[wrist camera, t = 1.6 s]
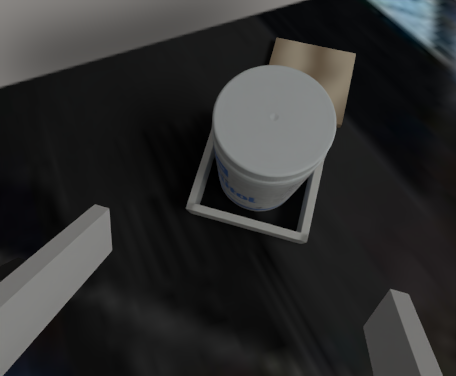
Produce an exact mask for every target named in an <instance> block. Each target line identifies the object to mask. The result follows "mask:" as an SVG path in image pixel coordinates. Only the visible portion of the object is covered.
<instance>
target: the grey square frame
mask: <svg viewBox="0 0 456 376" xmlns="http://www.w3.org/2000/svg"><path fill="white" fill-rule="evenodd" d="M214 157H215V151H214V146H213V139H212V129H211V132H210V135H209V138H208V141H207V144H206V147H205V151H204V154H203V157H202V160H201V163H200V166H199V169H198V172H197V175H196V178H195V181H194V184H193V187H192V190H191V193H190V197H189V200H188V203H187V206H186V209H187V210H188V211H189V212H190V213H192V214H196V215H199V216H203V217H206V218H210V219H214V220H217V221H221V222H224V223H228V224H231V225H235V226H239V227H242V228H246V229H249V230H253V231H256V232H260V233H264V234H267V235H271V236H274V237H278V238H281V239H285V240H289V241H292V242H296V243H299V244H302V243H306V242H307V239H308V234H309V230H310V225H311V220H312V215H313V211H314V206H315V201H316V196H317V192H318V187H319V182H320V177H321V173H322V168H323V163H324V159H323V160H322V162H321V163H320V164H319V165H318V167H317V168H316V169H315V170H314V171H313V172H312V173H311V174H310V176H309V177H308V181H307V185H306V190H305V194H304V199H303V203H302V208H301V212H300V217H299V221H298V226H297V230H296V231H292V230H289V229H285V228H282V227H278V226H274V225H271V224H267V223H263V222H260V221H256V220H253V219H249V218H245V217H242V216H238V215H234V214H231V213H227V212H224V211H220V210H216V209H213V208H209V207H205V206H202V205H200V202H201V198H202V195H203V192H204V189H205V186H206V183H207V179H208V176H209V173H210V170H211V167H212V163H213V160H214Z"/></svg>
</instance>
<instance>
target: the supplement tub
mask: <svg viewBox="0 0 456 376" xmlns="http://www.w3.org/2000/svg"><path fill="white" fill-rule="evenodd" d="M336 124H337V123H336V113H335V109H334V105H333V103H332V101H331V99H330V97H329V95H328V94H327V92H326V91H325V89H324V88H323V87H322V86H321V85H320V84H319V83H318V82H317V81H316V80H315V79H313V78H312V77H311V76H309V75H307V74H306V73H304V72H302V71H300V70H297V69H294V68H291V67H287V66H280V65H265V66H259V67H254V68H251V69H249V70H246V71H244V72H242V73H240V74H239V75H237V76H236V77H234V78H233V79H232V80H231V81H229V82H228V83H227V84H226V86H225V87H224V88H223V89H222V91H221V92H220V94H219V96H218V98H217V100H216V103H215V106H214V110H213V117H212V139H213V146H214V151H215V157H216V162H217V168H218V174H219V179H220V183H221V186H222V188H223V190H224V192H225V194H226V195H227V196H228V198H229V199H230V200H231V201H233V202H234V203H235V204H237V205H238V206H240V207H242V208H245V209H248V210H252V211H267V210H271V209H274V208H276V207H278V206H280V205H281V204H283V203H284V202H285V201H286V200H287V199H288V198H289V197H290V196H291V195H292V194H293V193H294V192H295V191H296V190H297V189H298V188H299V186H300V185H301V184H302V183H303V182H304V181H305V180H306V179H307V178H308V177H309V176H310V174H311V173H312V172H313V171H314V170H315V169H316V168H317V167H318V165H319V164H320V163H321V162H322V160H323V159H324V158H325V156H326V154H327V152H328V150H329V148H330V147H331V145H332V142H333V140H334V137H335V132H336Z"/></svg>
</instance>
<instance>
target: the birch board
mask: <svg viewBox="0 0 456 376" xmlns="http://www.w3.org/2000/svg"><path fill="white" fill-rule="evenodd" d="M355 56H356V54H354V53H349V52H344V51H339V50H335V49H330V48H325V47H320V46H315V45H310V44H305V43H300V42H295V41H291V40H286V39H281V38H276V42H275V45H274V49H273V52H272V56H271V59H270V63H269V65H280V66H287V67H291V68H294V69H297V70H300V71H302V72H304V73H306V74H307V75H309V76H311V77H312V78H313V79H315V80H316V81H317V82H318V83H319V84H320V85H321V86H322V87H323V88H324V89H325V91H326V92H327V94H328V95H329V97H330V99H331V101H332V103H333V105H334V109H335V113H336V123H337V124H336V127H338V128H340V126H341V125H342V121H343V116H344V111H345V106H346V101H347V96H348V91H349V86H350V81H351V76H352V71H353V66H354V61H355Z"/></svg>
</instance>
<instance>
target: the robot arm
mask: <svg viewBox="0 0 456 376" xmlns="http://www.w3.org/2000/svg"><path fill="white" fill-rule="evenodd" d="M111 251H112V241H111V227H110V212H109V208H106V207H102V206H99V205H93V206H92V207H91V208H90V209H89V210H87V211H86V212H85V213H84V214H82V215H81V216H80V217H79V218H78V219H76V220H75V221H74V222H73V223H72V224H70V225H69V226H68V227H67V228H65V229H64V230H63V231H62V232H61V233H59V234H58V235H57V236H56V237H54V238H53V239H52V240H51V241H50V242H48V243H47V244H46V245H45V246H44V247H42V248H41V249H40V250H39V251H37V252H36V253H35V254H34V255H33V256H31V257H30V258H29V259H28V260H27V261H26V260H23V259H20V258H17V259H14V260H12V261H10V262H8V263H6V264H4V265H2V266H0V376H3V375H4V374H5V372H6V371H7V370H8V369H9V368H10V367H11V366H12V364H13V363H14V362H15V361H16V360H17V359H18V358H19V356H20V355H21V354H22V353H23V352H24V351H25V350H26V348H27V347H28V346H29V345H30V344H31V343H32V342H33V340H34V339H35V338H36V337H37V336H38V335H39V334H40V332H41V331H42V330H43V329H44V328H45V327H46V326H47V324H48V323H49V322H50V321H51V320H52V319H53V318H54V316H55V315H56V314H57V313H58V312H59V311H60V310H61V308H62V307H63V306H64V305H65V304H66V303H67V301H68V300H69V299H70V298H71V297H72V296H73V295H74V293H75V292H76V291H77V290H78V289H79V288H80V287H81V285H82V284H83V283H84V282H85V281H86V280H87V279H88V277H89V276H90V275H91V274H92V273H93V272H94V271H95V269H96V268H97V267H98V266H99V265H100V264H101V263H102V261H103V260H104V259H105V258H106V257H107V256H108V255H109V253H110V252H111ZM363 328H364V332H365V337H366V342H367V346H368V351H369V355H370V360H371V365H372V369H373V374H374V376H443V375H442V373H441V370H440V368H439V365H438V363H437V361H436V358H435V356H434V354H433V351H432V349H431V346H430V344H429V342H428V339H427V337H426V335H425V332H424V330H423V327H422V325H421V323H420V320H419V318H418V315H417V313H416V311H415V308H414V306H413V304H412V301H411V299H410V296H409V294H406V293H403V292H399V291H396V290H392V289H390V290H389V291H388V293H387V294H386V295H385V297H384V298H383V300H382V301H381V302H380V304H379V305H378V307H377V308H376V310H375V311H374V312H373V314H372V315H371V317H370V318H369V320H368V321H367V322H366V324H365V325H364V327H363Z"/></svg>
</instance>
